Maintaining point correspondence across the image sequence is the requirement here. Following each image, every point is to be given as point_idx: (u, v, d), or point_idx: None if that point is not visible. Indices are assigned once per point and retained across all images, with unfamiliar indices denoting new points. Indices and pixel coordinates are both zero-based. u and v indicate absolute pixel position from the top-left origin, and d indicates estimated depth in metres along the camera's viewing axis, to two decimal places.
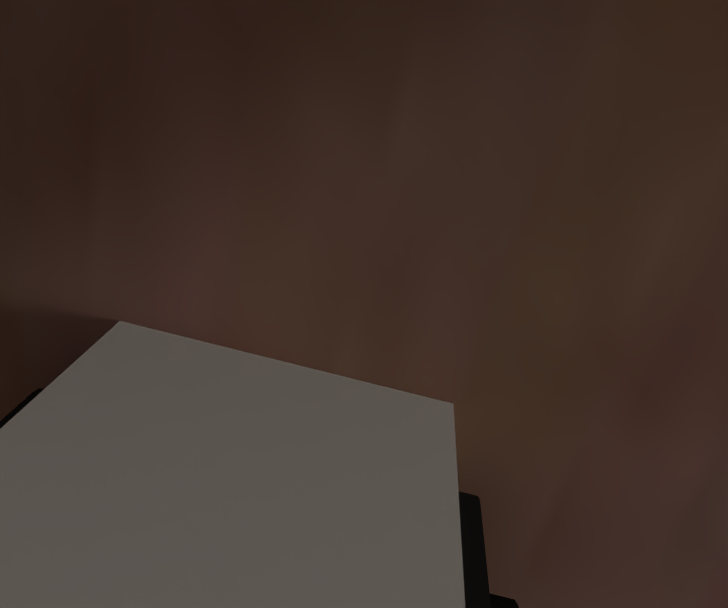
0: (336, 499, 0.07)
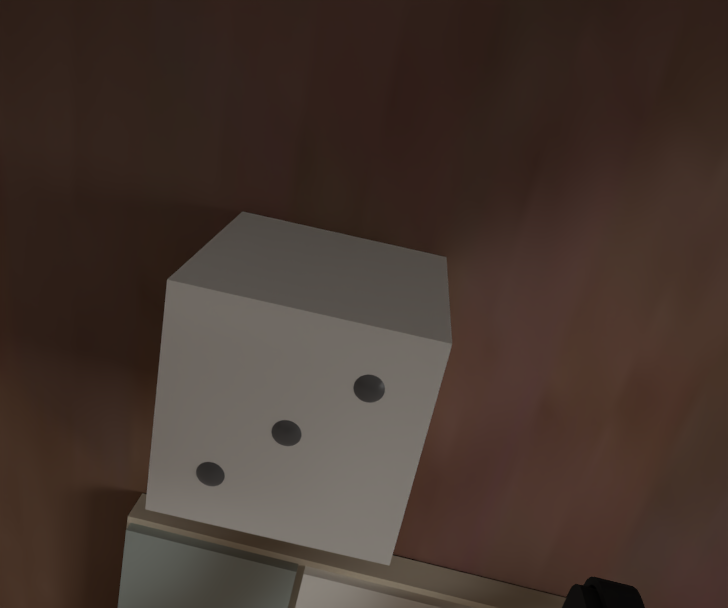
0: (382, 281, 0.13)
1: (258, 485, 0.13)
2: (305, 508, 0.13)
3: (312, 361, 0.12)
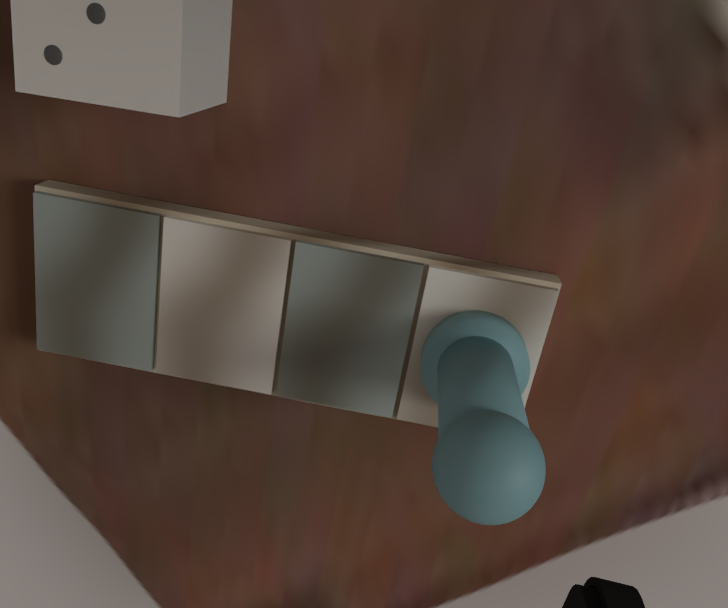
0: None
1: (84, 59, 0.19)
2: (117, 74, 0.19)
3: None
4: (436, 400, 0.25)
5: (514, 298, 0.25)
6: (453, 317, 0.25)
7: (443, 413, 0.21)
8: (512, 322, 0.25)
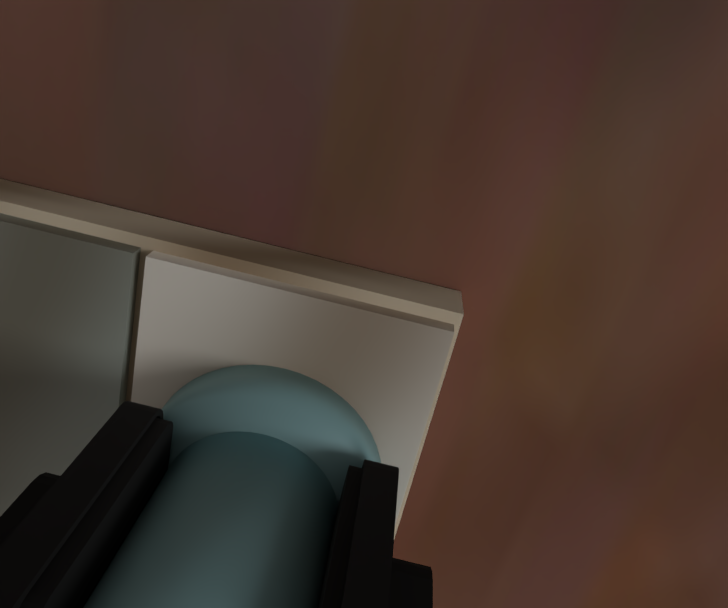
0: None
1: None
2: None
3: None
4: None
5: (350, 343, 0.10)
6: (206, 381, 0.10)
7: None
8: (347, 397, 0.11)
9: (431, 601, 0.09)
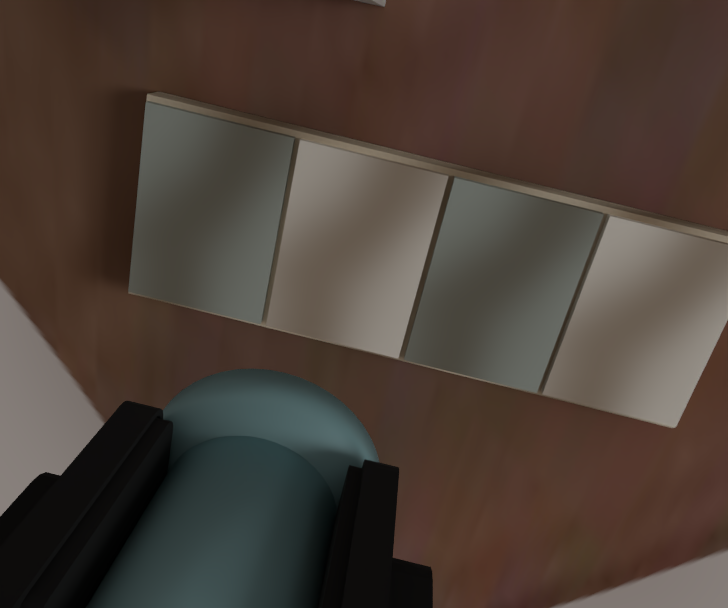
0: None
1: None
2: None
3: None
4: None
5: (705, 258, 0.21)
6: (205, 385, 0.10)
7: None
8: (698, 287, 0.21)
9: (431, 601, 0.09)
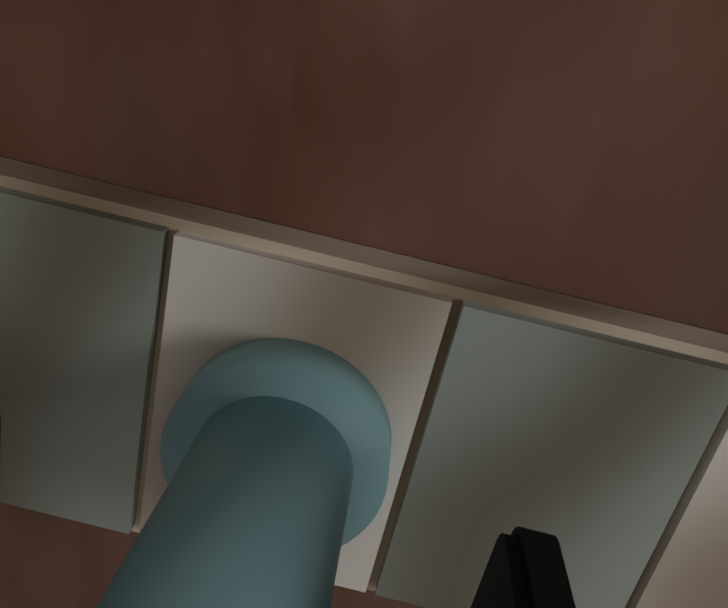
0: None
1: None
2: None
3: None
4: None
5: None
6: (233, 352, 0.12)
7: None
8: None
9: None
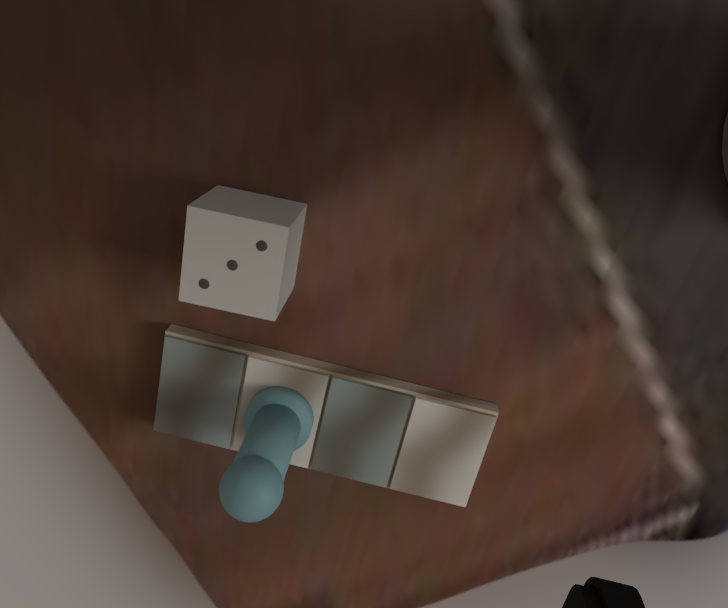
0: (271, 210, 0.34)
1: (222, 287, 0.33)
2: (241, 297, 0.33)
3: (240, 235, 0.32)
4: None
5: (468, 420, 0.39)
6: (265, 390, 0.39)
7: (236, 455, 0.35)
8: (466, 434, 0.39)
9: None
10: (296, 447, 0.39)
